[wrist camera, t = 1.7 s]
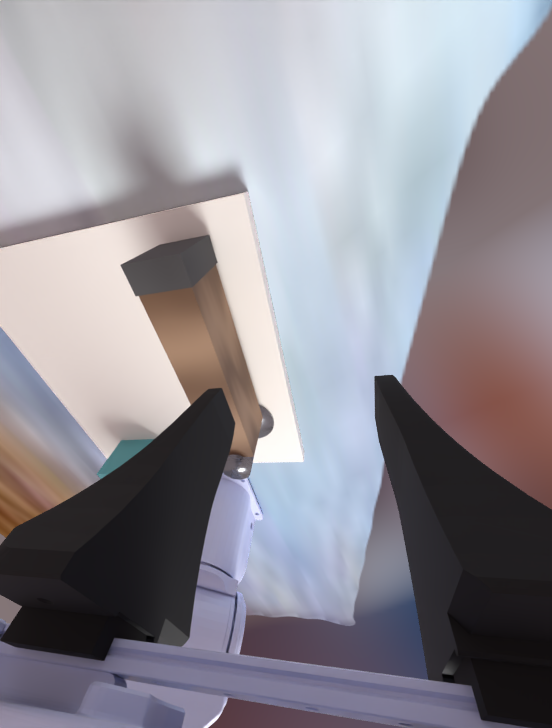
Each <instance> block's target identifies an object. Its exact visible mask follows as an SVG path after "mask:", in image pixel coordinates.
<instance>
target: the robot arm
mask: <svg viewBox="0 0 552 728" xmlns="http://www.w3.org/2000/svg"><path fill="white" fill-rule="evenodd" d="M375 420H376V426H377V432H378V437H379V443H380V446H381V450H382V453H383V457H384V460H385V464H386V467H387V470H388V474H389V477H390V481H391V484H392V487H393V491H394V494H395V498H396V501H397V505H398V510H399V514H400V519H401V525H402V530H403V535H404V540H405V545H406V551H407V556H408V562H409V567H410V572H411V579H412V584H413V590H414V596H415V602H416V607H417V613H418V619H419V625H420V631H421V637H422V643H423V649H424V655H425V662H426V668H427V674H428V679H429V680H424V679H417V678H409V677H402V676H394V675H387V674H380V673H371V672H365V671H357V670H350V669H342V668H335V667H328V666H320V665H313V664H305V663H297V662H290V661H283V660H275V659H268V658H261V657H253V656H246V655H239V653H240V648H241V644H242V638H243V633H244V627H245V619H246V604H245V601H244V599H243V595H242V593H241V592H238V591H237V587H238V584H239V583H240V581H241V580H242V578H243V576H244V574H245V571H246V568H247V563H248V557H249V552H250V546H251V541H252V535H253V530H254V524H255V520H262V519H263V514H262V512H261V509H260V507H259V504H258V502H257V500H256V497H255V495H254V492H253V490H252V487H251V485H250V483H249V480H248V478H246V479H241V480H238V479H232V478H230V477H228V476H226V475H225V474H224V473H223V471H224V468H225V465H226V461H227V458H228V455H229V452H230V449H231V445H232V440H233V435H234V429H235V421H234V418H233V415H232V413H231V410H230V408H229V405H228V402H227V400H226V397H225V395H224V392H223V389H222V388H213V389H208V390H206V391H205V392H204V393H203V394H202V395H201V396H200V397H199V398H198V399H197V400H196V401H195V402H194V403H193V404H192V405H191V406H190V407H188V408H187V409H186V410H185V411H184V412H183V413H182V414H181V415H180V416H179V417H178V418H177V419H176V420H175V421H174V422H173V423H172V424H171V425H170V426H169V427H167V428H166V429H165V430H164V431H163V432H162V433H161V434H160V435H158V436H157V437H156V438H155V439H154V440H153V441H152V442H151V443H149V444H148V445H147V446H146V447H145V448H143V449H142V450H141V451H140V452H138V453H137V454H136V455H134V456H133V457H132V458H130V459H129V460H128V461H126V462H125V463H124V464H122V465H121V466H120V467H118V468H117V469H115V470H114V471H112V472H111V473H109V474H108V475H106V476H105V477H103V478H102V479H100V480H99V481H97V482H96V483H94V484H93V485H91V486H90V487H88V488H86V489H85V490H83V491H81V492H80V493H78V494H76V495H75V496H73V497H71V498H69V499H68V500H66V501H64V502H63V503H61V504H59V505H57V506H55V507H54V508H52V509H50V510H48V511H46V512H44V513H42V514H40V515H38V516H36V517H34V518H33V519H31V520H29V521H27V522H25V523H23V524H21V525H19V526H17V527H15V528H14V529H13V530H12V531H11V533H10V534H9V535H8V536H7V538H6V539H5V540H4V541H3V543H2V544H1V545H0V595H2V596H4V597H6V598H8V599H9V600H11V601H13V602H15V603H17V604H19V605H21V606H22V608H21V609H20V611H19V612H18V614H17V615H16V617H15V618H14V620H13V621H12V623H11V624H8V623H6V622H5V621H4V620H2V619H0V728H208V727H209V726H210V725H212V724H213V723H214V722H215V721H216V720H217V719H218V718H219V716H220V715H221V713H222V711H223V707H224V706H225V705H226V702H227V698H228V697H229V698H235V699H242V700H247V701H253V702H259V703H265V704H271V705H276V706H282V707H288V708H294V709H300V710H306V711H312V712H318V713H324V714H329V715H335V716H341V717H347V718H353V719H359V720H365V721H371V722H377V723H383V724H388V725H395V726H400V727H406V728H552V510H551V509H550V508H548V507H546V506H545V505H543V504H542V503H540V502H538V501H537V500H535V499H534V498H532V497H530V496H528V495H527V494H526V493H524V492H523V491H521V490H520V489H518V488H517V487H515V486H514V485H513V484H511V483H510V482H508V481H507V480H506V479H504V478H503V477H501V476H500V475H498V474H497V473H495V472H494V471H492V470H491V469H490V468H488V467H487V466H486V465H485V464H483V463H482V462H481V461H479V460H478V459H477V458H475V457H474V456H473V455H472V454H470V453H469V452H468V451H467V450H466V449H464V448H463V447H462V446H461V445H459V444H458V443H457V442H456V441H455V440H454V439H453V438H452V437H450V436H449V435H448V434H447V433H446V432H445V431H444V430H443V429H442V428H441V427H440V426H438V425H437V424H436V423H435V422H434V421H433V420H432V419H431V418H430V417H429V416H428V415H427V413H425V411H424V410H423V409H422V408H421V407H420V406H419V405H418V404H417V403H416V402H415V401H414V400H413V399H412V397H411V396H410V395H409V394H408V393H407V391H406V390H405V389H404V388H403V387H402V385H401V384H400V383H399V381H398V380H397V379H396V377H394V376H393V375H384V376H375Z"/></svg>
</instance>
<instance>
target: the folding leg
mask: <svg viewBox="0 0 552 728" xmlns="http://www.w3.org/2000/svg"><path fill="white" fill-rule="evenodd" d="M217 263H218V262H217V259H216V256H215V252H214V249H213V246H212V242H211V239H210V236H209V235H205V236H200V237H195V238H190V239H185V240H180V241H175V242H170V243H165V244H160V245H158V246H156V247H154V248H152V249H150V250H148V251H146V252H144V253H142V254H141V255H139V256H137V257H135V258H133V259H131V260H129V261H127V262H125V263H123V264H121V267H122V270H123V272H124V274H125V276H126V278H127V280H128V282H129V284H130V286H131V288H132V290H133V292H134V294H135V296H139V298H140V300H141V302H142V304H143V306H144V308H145V310H146V313H147V315H148V317H149V319H150V321H151V323H152V325H153V327H154V329H155V331H156V333H157V335H158V338H159V340H160V342H161V344H162V346H163V348H164V350H165V352H166V354H167V356H168V358H169V360H170V363H171V365H172V367H173V369H174V371H175V373H176V375H177V377H178V379H179V381H180V383H181V385H182V388H183V390H184V392H185V394H186V396H187V398H188V400H189V402H190V404H191V405H192V404H193V403H194V402H195V401H196V400H197V399H198V398H199V397H200V396H201V395H202V394H203V393H204V392H205V391H206V390H208V389H213V388H222V389H223V392H224V395H225V397H226V400H227V402H228V405H229V408H230V410H231V413H232V415H233V418H234V421H235V429H234V435H233V440H232V445H231V449H230V452H229V455H228V458H227V461H226V465H225V468H224V471H223V473H224V474H225V475H226V476H228V477H230V478H232V479H238V480H241V479H246V478H247V477H249V475H250V472H251V468H252V463H253V459H254V454H255V450H256V446H257V441H258V437H259V432H260V428H261V423H262V419H263V417H262V413H261V410H260V407H259V403H258V400H257V397H256V394H255V390H254V387H253V384H252V381H251V377H250V374H249V371H248V368H247V364H246V361H245V358H244V354H243V351H242V348H241V345H240V341H239V338H238V335H237V332H236V328H235V325H234V322H233V319H232V315H231V312H230V309H229V305H228V302H227V299H226V296H225V292H224V289H223V286H222V283H221V279H220V276H219V273H218V269H217V266H216V264H217Z"/></svg>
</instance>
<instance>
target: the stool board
mask: <svg viewBox="0 0 552 728" xmlns="http://www.w3.org/2000/svg"><path fill="white" fill-rule="evenodd" d="M205 235H209V236H210V239H211V242H212V246H213V249H214V252H215V256H216V259H217V262H218V263H217V264H216V266H217V269H218V273H219V276H220V279H221V283H222V286H223V289H224V292H225V296H226V299H227V302H228V305H229V309H230V312H231V315H232V319H233V322H234V325H235V328H236V332H237V335H238V338H239V341H240V345H241V348H242V351H243V354H244V358H245V361H246V364H247V368H248V371H249V374H250V377H251V381H252V384H253V387H254V390H255V394H256V397H257V400H258V403H259V407H260V410H261V413H262V417H263V419H262V423H261V428H260V432H259V437H258V441H257V446H256V450H255V454H254V459H253V463H258V462H304V448H303V443H302V439H301V434H300V429H299V425H298V420H297V415H296V411H295V406H294V401H293V397H292V392H291V388H290V383H289V378H288V374H287V369H286V364H285V360H284V355H283V351H282V346H281V341H280V337H279V332H278V327H277V323H276V318H275V313H274V309H273V304H272V300H271V295H270V290H269V286H268V281H267V276H266V272H265V267H264V263H263V258H262V253H261V249H260V244H259V239H258V235H257V230H256V226H255V221H254V216H253V212H252V207H251V202H250V198H249V193H248V191H247V192H243V193H239V194H234V195H230V196H226V197H221V198H217V199H212V200H208V201H204V202H199V203H195V204H190V205H186V206H182V207H177V208H173V209H169V210H164V211H160V212H155V213H151V214H147V215H142V216H138V217H133V218H129V219H125V220H120V221H116V222H111V223H107V224H103V225H98V226H94V227H90V228H85V229H81V230H76V231H72V232H68V233H63V234H59V235H54V236H50V237H46V238H41V239H37V240H32V241H28V242H24V243H19V244H15V245H11V246H6V247H2V248H0V326H1V328H2V329H3V330H4V331H5V333H6V334H7V335H8V336H9V338H10V339H11V340H12V341H13V343H14V344H15V345H16V346H17V348H18V349H19V350H20V351H21V353H22V354H23V355H24V356H25V357H26V359H27V360H28V361H29V362H30V364H31V365H32V366H33V367H34V369H35V370H36V371H37V372H38V374H39V375H40V376H41V377H42V379H43V380H44V381H45V382H46V384H47V385H48V386H49V387H50V389H51V390H52V391H53V392H54V394H55V395H56V396H57V397H58V399H59V400H60V401H61V402H62V403H63V405H64V406H65V407H66V408H67V410H68V411H69V412H70V413H71V415H72V416H73V417H74V418H75V420H76V421H77V422H78V423H79V425H80V426H81V427H82V428H83V430H84V431H85V432H86V433H87V435H88V436H89V437H90V438H91V440H92V441H93V442H94V443H95V445H96V446H97V447H98V448H99V449H100V451H101V452H102V453H103V454H104V456H105V457H106V458H107V461H106V462H105V463H104V465H103V466H102V468H101V469H100V470H99V472H98V473H97V475H98V476H99V477H100V478H101V479H102V478H103V477H105V476H106V475H108V474H109V473H111V472H112V471H114V470H115V469H117V468H118V467H120V466H121V465H122V464H124V463H125V462H126V461H128V460H129V459H130V458H132V457H133V456H134V455H136V454H137V453H138V452H140V451H141V450H142V449H143V448H145V447H146V446H147V445H148V444H149V443H151V442H152V441H153V440H154V439H155V438H156V437H157V436H158V435H160V434H161V433H162V432H163V431H164V430H165V429H166V428H167V427H169V426H170V425H171V424H172V423H173V422H174V421H175V420H176V419H177V418H178V417H179V416H180V415H181V414H182V413H183V412H184V411H185V410H186V409H187V408H188V407H190V406H191V404H190V402H189V400H188V398H187V396H186V394H185V392H184V390H183V388H182V385H181V383H180V381H179V379H178V377H177V375H176V373H175V371H174V369H173V367H172V365H171V363H170V360H169V358H168V356H167V354H166V352H165V350H164V348H163V346H162V344H161V342H160V340H159V338H158V335H157V333H156V331H155V329H154V327H153V325H152V323H151V321H150V319H149V317H148V315H147V313H146V310H145V308H144V306H143V304H142V302H141V300H140V298H139V296H135V294H134V292H133V290H132V288H131V286H130V284H129V282H128V280H127V278H126V276H125V274H124V272H123V270H122V267H121V264H123V263H125V262H127V261H129V260H131V259H133V258H135V257H137V256H139V255H141V254H142V253H144V252H146V251H148V250H150V249H152V248H154V247H156V246H158V245H160V244H165V243H170V242H175V241H180V240H185V239H190V238H195V237H200V236H205Z"/></svg>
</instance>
